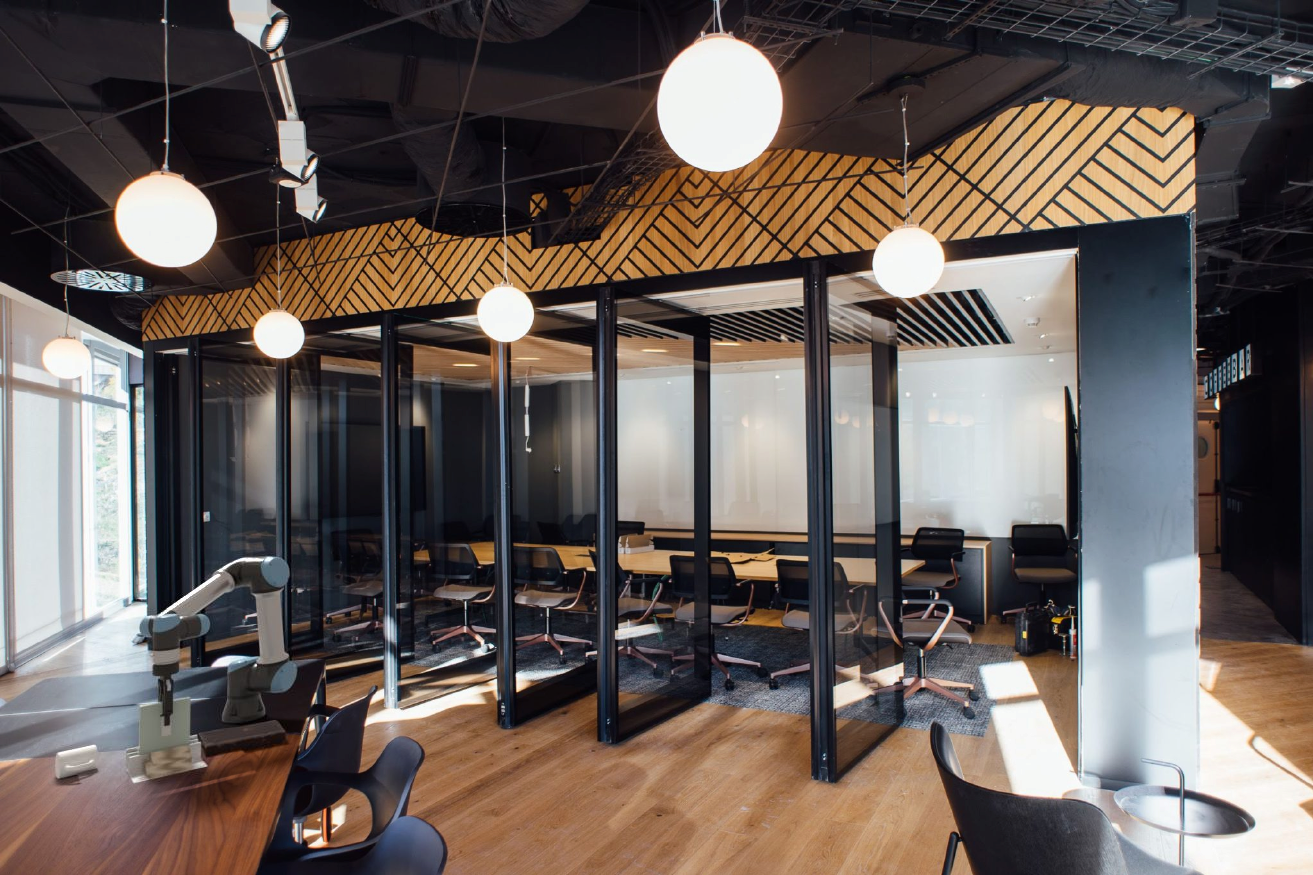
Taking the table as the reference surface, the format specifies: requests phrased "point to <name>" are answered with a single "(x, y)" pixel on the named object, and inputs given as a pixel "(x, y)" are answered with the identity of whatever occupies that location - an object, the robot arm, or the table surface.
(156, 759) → the offcut upper
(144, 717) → the board
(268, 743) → the diary
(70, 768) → the mug
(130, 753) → the rack
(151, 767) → the offcut lower
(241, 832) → the table surface
